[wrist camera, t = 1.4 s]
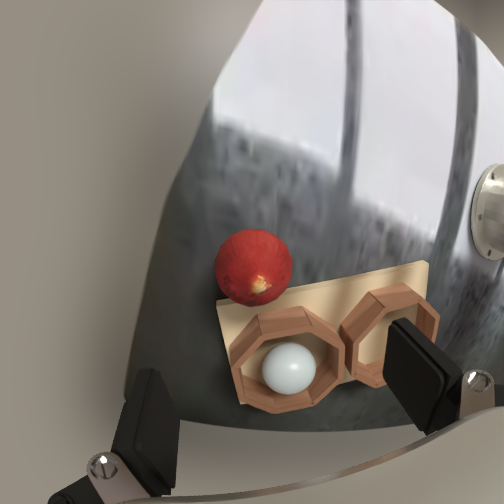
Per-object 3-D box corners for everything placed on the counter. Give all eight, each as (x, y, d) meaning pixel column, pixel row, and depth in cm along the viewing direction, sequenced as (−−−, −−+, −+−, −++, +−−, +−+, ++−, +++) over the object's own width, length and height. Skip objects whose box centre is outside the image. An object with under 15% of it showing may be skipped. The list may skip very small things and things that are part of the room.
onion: (266, 291, 27) (282, 340, 19) (207, 271, 26) (200, 316, 18) (292, 234, 26) (320, 264, 18) (230, 210, 24) (232, 232, 17)
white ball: (307, 327, 27) (322, 358, 22) (309, 366, 29) (322, 398, 24) (255, 337, 27) (262, 371, 22) (262, 375, 29) (269, 409, 24)
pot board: (422, 260, 28) (448, 275, 23) (410, 354, 32) (428, 375, 27) (216, 300, 27) (215, 327, 22) (239, 397, 31) (242, 427, 26)
